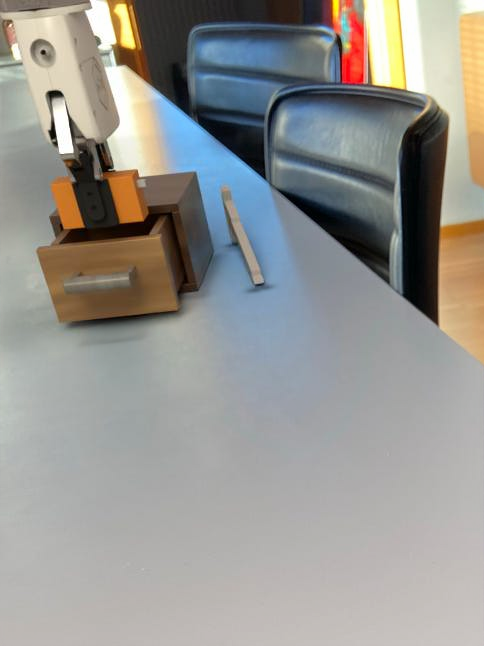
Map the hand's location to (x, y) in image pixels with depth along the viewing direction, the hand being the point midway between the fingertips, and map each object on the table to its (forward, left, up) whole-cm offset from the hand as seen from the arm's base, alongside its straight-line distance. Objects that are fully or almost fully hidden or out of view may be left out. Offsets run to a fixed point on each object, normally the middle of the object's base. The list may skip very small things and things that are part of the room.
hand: (106, 219), depth 97 cm
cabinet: (0, +11, -9) cm, 14 cm away
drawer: (0, 0, -8) cm, 8 cm away
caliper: (+10, +13, -9) cm, 19 cm away
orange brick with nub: (0, 0, 0) cm, 0 cm away
